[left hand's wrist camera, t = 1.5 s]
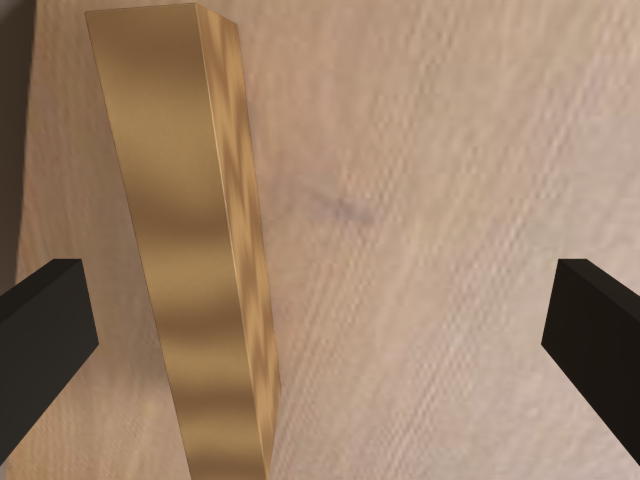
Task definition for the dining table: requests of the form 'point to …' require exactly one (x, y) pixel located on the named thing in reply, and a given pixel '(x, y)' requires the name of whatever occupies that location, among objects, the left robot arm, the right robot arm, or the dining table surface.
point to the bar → (196, 224)
